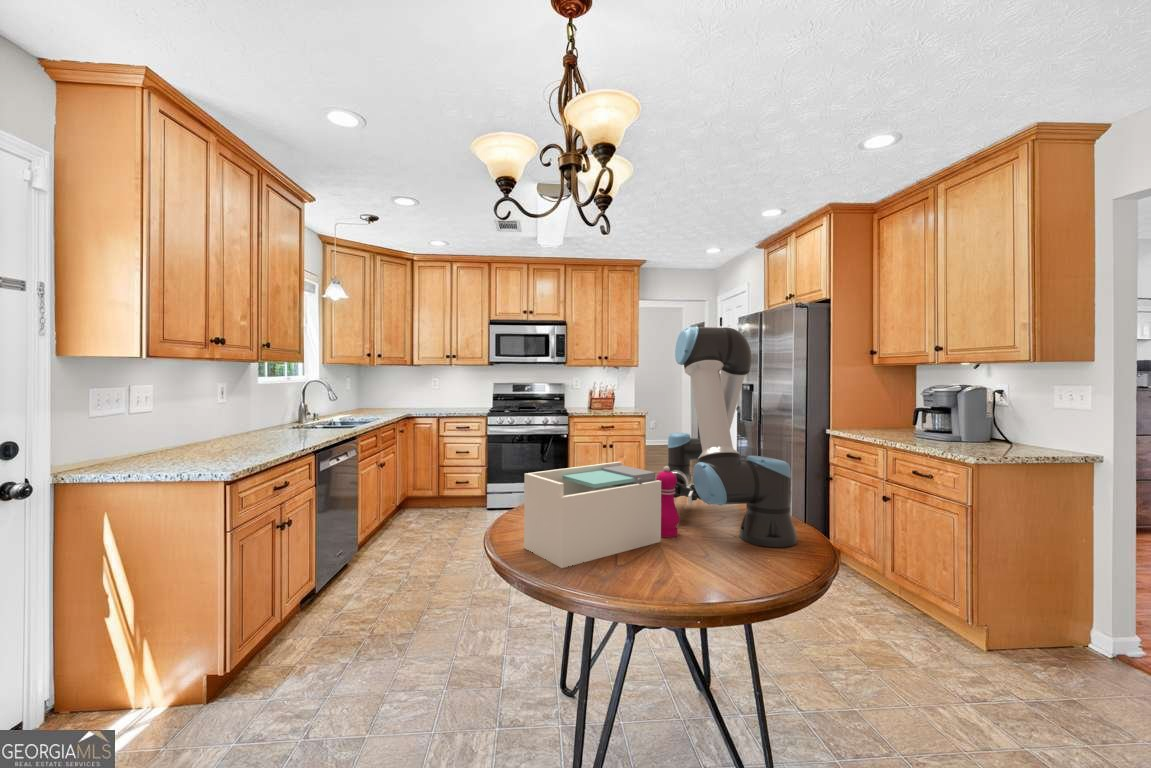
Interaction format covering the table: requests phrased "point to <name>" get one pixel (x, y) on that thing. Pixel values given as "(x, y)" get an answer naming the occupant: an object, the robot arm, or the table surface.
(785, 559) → the table surface
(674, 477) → the pepper mill
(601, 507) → the frame
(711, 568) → the table surface
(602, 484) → the trapdoor
